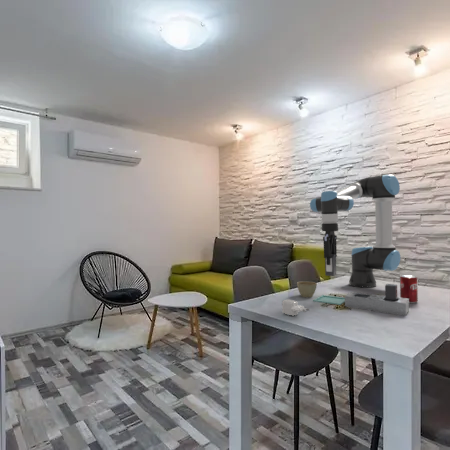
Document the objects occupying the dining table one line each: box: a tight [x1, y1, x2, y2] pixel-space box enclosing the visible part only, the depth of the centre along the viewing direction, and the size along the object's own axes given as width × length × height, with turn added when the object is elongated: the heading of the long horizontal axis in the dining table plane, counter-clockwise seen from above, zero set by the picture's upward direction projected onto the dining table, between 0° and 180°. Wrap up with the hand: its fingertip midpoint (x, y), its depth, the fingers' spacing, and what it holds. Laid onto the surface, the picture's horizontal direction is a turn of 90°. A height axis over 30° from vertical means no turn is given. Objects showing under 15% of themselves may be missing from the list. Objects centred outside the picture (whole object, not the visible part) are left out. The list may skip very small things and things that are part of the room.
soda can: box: [399, 274, 419, 304], centre depth 151 cm, size 7×7×12 cm
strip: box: [344, 283, 410, 317], centre depth 144 cm, size 20×24×11 cm
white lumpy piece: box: [281, 299, 310, 317], centre depth 131 cm, size 11×5×6 cm, turn 43°
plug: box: [324, 254, 337, 277], centre depth 155 cm, size 4×4×10 cm
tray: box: [312, 294, 345, 306], centre depth 155 cm, size 13×13×1 cm
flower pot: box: [296, 281, 318, 298], centre depth 164 cm, size 10×10×7 cm
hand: (330, 270), depth 155 cm, fingers closed on plug, 4 cm apart
